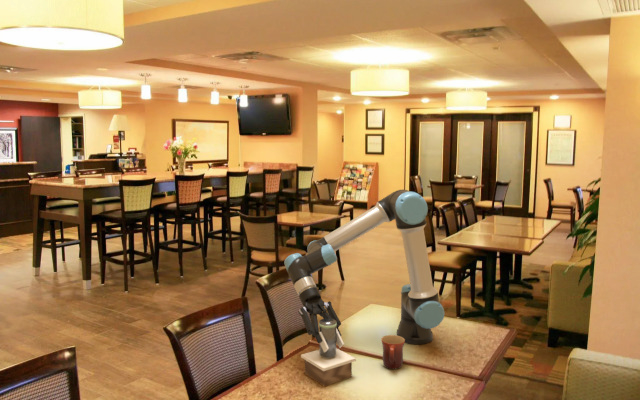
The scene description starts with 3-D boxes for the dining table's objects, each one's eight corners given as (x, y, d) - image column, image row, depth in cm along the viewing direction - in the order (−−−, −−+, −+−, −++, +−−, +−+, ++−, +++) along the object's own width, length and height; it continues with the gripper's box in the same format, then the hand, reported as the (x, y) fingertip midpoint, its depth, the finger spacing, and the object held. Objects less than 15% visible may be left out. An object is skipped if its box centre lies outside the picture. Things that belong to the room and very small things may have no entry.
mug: (381, 360, 197) (382, 334, 196) (405, 362, 195) (405, 335, 194) (379, 373, 185) (379, 346, 184) (403, 376, 184) (404, 348, 182)
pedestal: (331, 363, 194) (331, 345, 193) (355, 377, 183) (355, 358, 182) (300, 373, 186) (300, 354, 185) (323, 388, 175) (323, 368, 174)
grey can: (329, 348, 188) (329, 317, 186) (340, 354, 183) (340, 322, 181) (315, 353, 184) (315, 320, 183) (326, 358, 179) (325, 325, 178)
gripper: (324, 292, 199) (350, 346, 188) (282, 301, 188) (307, 359, 177) (332, 282, 194) (359, 337, 183) (289, 290, 184) (316, 349, 172)
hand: (334, 348), depth 180 cm, fingers closed on grey can, 6 cm apart
